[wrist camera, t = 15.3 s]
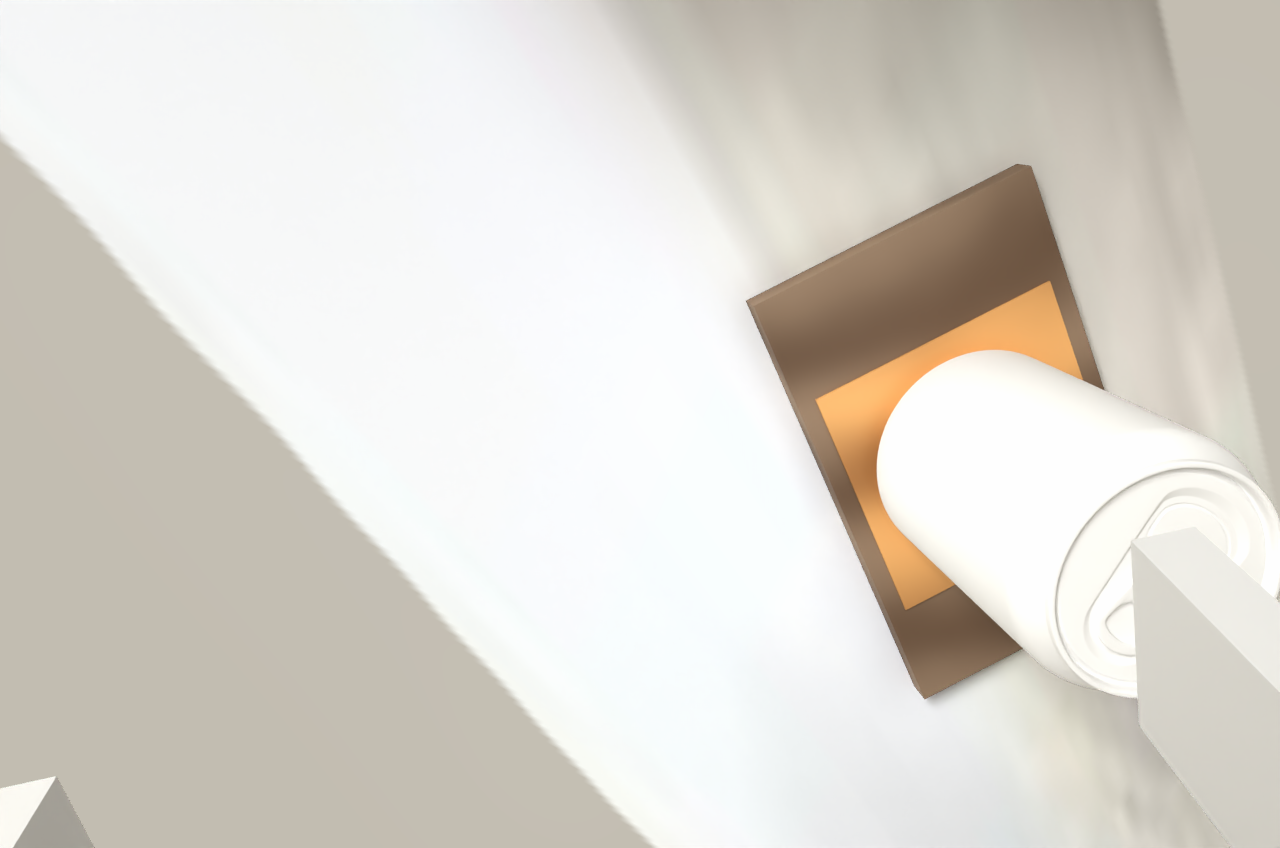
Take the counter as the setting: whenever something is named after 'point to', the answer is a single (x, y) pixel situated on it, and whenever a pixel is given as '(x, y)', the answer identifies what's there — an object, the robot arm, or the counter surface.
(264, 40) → the counter surface
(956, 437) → the beverage can
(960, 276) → the label board
